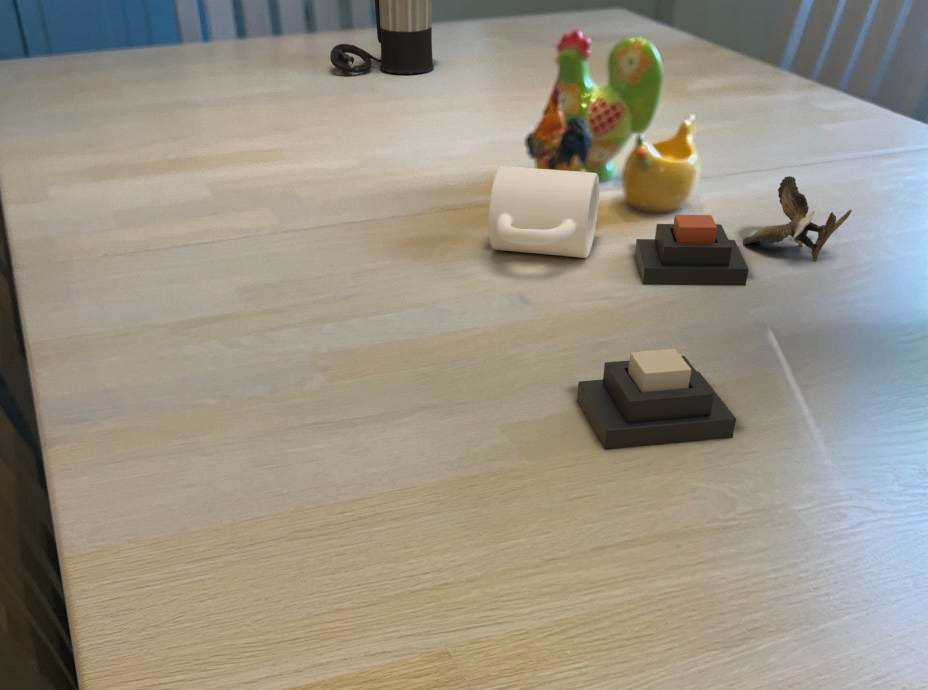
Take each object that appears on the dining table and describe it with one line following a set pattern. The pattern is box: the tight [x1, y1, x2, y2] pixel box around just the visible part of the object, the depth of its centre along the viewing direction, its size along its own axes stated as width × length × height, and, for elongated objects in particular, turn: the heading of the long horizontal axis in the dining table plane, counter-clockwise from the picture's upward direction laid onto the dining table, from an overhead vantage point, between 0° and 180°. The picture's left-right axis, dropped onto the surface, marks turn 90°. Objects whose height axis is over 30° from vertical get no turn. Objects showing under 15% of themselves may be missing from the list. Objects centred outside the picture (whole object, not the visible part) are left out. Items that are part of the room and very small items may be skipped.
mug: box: [487, 165, 600, 259], centre depth 102 cm, size 12×10×8 cm
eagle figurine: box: [742, 175, 853, 262], centre depth 104 cm, size 8×7×9 cm
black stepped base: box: [576, 355, 737, 451], centre depth 78 cm, size 10×8×4 cm
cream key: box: [628, 348, 691, 392], centre depth 76 cm, size 4×4×2 cm
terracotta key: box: [673, 214, 717, 243], centre depth 99 cm, size 4×4×2 cm
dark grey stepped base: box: [634, 223, 750, 287], centre depth 101 cm, size 10×8×4 cm
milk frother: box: [329, 0, 435, 75], centre depth 166 cm, size 14×16×15 cm
